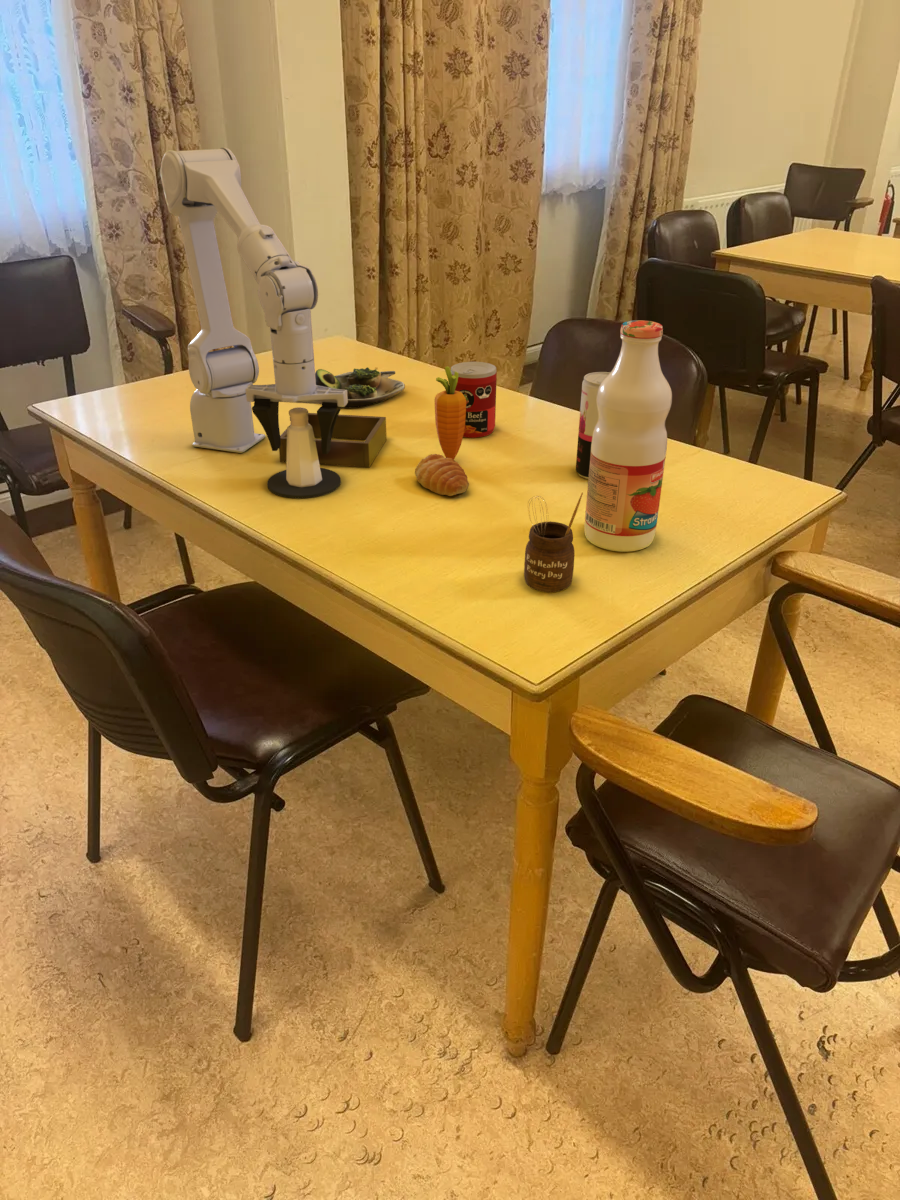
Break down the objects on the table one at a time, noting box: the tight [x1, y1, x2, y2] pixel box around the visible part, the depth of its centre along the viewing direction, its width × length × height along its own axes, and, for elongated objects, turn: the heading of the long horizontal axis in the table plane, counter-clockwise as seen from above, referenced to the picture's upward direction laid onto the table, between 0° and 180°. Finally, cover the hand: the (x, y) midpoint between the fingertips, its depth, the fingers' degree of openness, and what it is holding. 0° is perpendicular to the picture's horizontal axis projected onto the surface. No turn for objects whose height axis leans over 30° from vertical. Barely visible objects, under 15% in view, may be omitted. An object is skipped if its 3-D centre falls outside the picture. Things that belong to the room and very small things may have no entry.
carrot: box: [434, 365, 466, 461], centre depth 139 cm, size 5×5×15 cm
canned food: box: [450, 361, 498, 439], centre depth 152 cm, size 8×8×11 cm
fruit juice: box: [583, 319, 673, 553], centre depth 113 cm, size 9×9×28 cm
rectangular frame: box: [278, 412, 388, 469], centre depth 146 cm, size 15×13×4 cm
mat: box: [266, 467, 342, 499], centre depth 135 cm, size 11×11×1 cm
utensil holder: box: [523, 492, 584, 593], centre depth 106 cm, size 6×6×12 cm
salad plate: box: [315, 367, 406, 409], centre depth 173 cm, size 19×18×5 cm
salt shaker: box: [285, 406, 322, 487], centre depth 132 cm, size 5×5×11 cm
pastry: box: [414, 453, 470, 497], centre depth 133 cm, size 9×7×4 cm
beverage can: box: [575, 371, 611, 480], centre depth 135 cm, size 7×6×15 cm
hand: (301, 450), depth 132 cm, fingers open, 7 cm apart
